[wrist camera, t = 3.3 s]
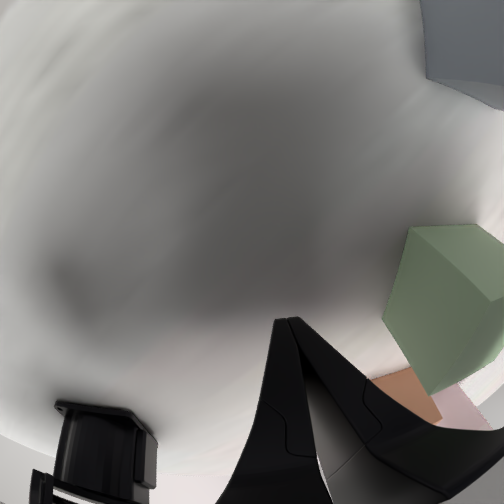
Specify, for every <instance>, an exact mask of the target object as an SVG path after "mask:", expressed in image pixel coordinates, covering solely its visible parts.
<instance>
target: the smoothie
mask: <svg viewBox="0 0 504 504" xmlns="http://www.w3.org/2000/svg"><path fill="white" fill-rule="evenodd" d="M431 397H432V399H433V401H434V403H435V404H436V406H437V408H438V410H439V412H440V414H441V416H442V418H443V419H442V420H441V421H440V422H439V423H438V424H437V425H436V426H440V427H445V428H455V429H467V430H487V431H488V430H493V428H492V427H491V426H490V424H489V423H488V422H487V420H486V419H485V418H484V417H483V415H482V414H481V413H480V411H479V410H478V409H477V408H476V406H475V405H474V404H473V402H472V401H471V400H470V399H469V398H468V396H467V395H466V394H465V393H464V391H463V390H462V389H461V388H460V387H459V385H458V384H457V383H455V384H453V385H451V386H450V387H448V388H446V389H444V390H442V391H440V392H438V393H435V394H433V395H431Z"/></svg>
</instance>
